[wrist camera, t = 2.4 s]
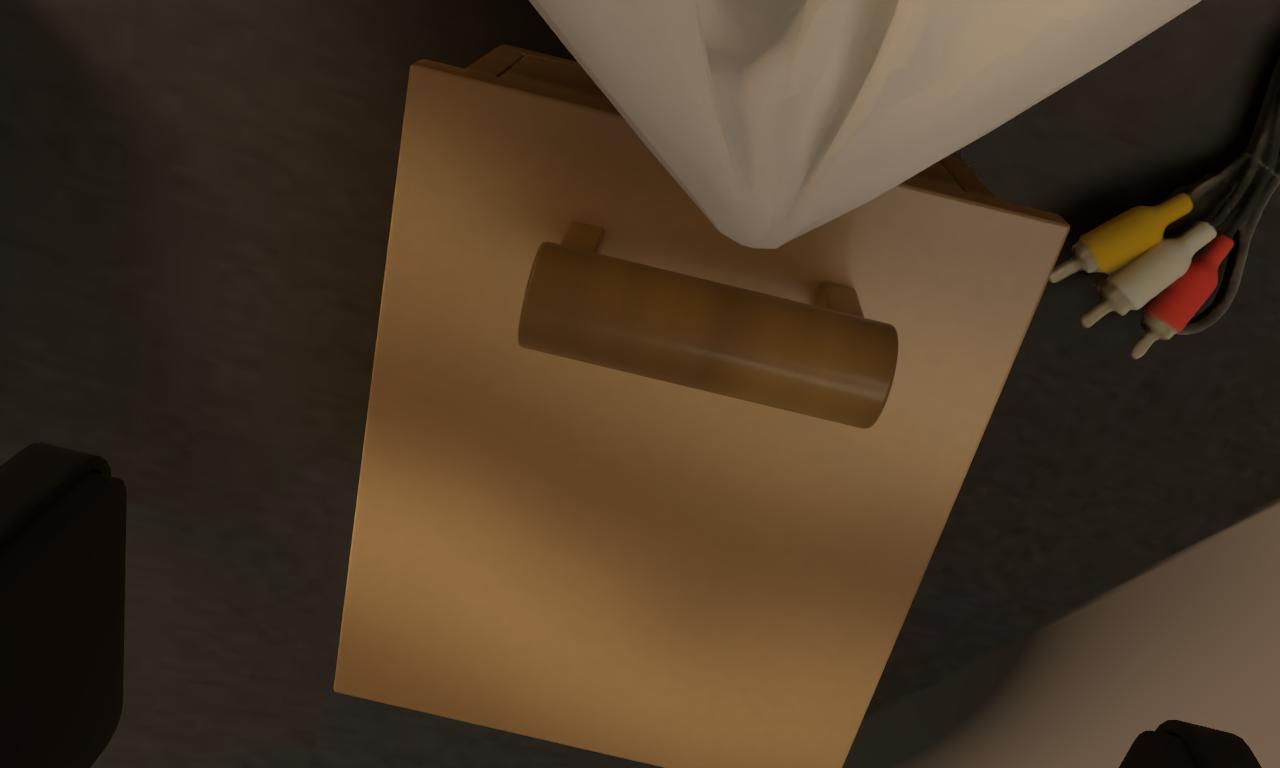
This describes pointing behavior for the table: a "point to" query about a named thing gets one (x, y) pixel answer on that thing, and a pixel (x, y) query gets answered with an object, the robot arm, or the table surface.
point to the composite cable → (1183, 241)
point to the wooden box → (578, 83)
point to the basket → (829, 88)
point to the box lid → (658, 437)
